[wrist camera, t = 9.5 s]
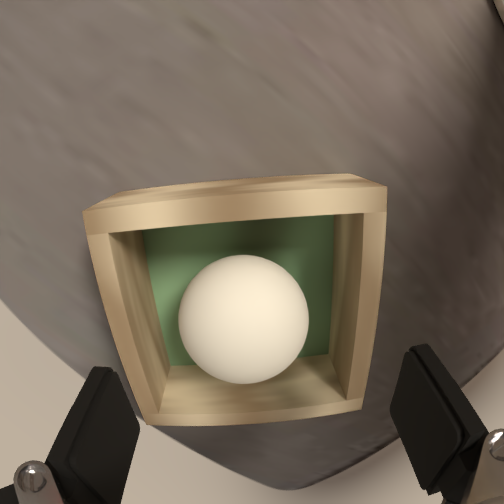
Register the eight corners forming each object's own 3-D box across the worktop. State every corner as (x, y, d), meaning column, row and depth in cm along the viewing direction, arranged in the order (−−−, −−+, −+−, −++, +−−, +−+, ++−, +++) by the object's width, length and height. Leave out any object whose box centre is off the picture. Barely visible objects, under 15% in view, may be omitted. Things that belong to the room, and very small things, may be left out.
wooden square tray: (350, 173, 16) (387, 187, 12) (341, 361, 20) (361, 409, 16) (119, 192, 16) (82, 211, 12) (159, 375, 20) (146, 424, 16)
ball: (296, 233, 17) (324, 284, 11) (297, 331, 19) (317, 403, 13) (180, 242, 17) (152, 296, 11) (196, 338, 19) (183, 412, 13)
